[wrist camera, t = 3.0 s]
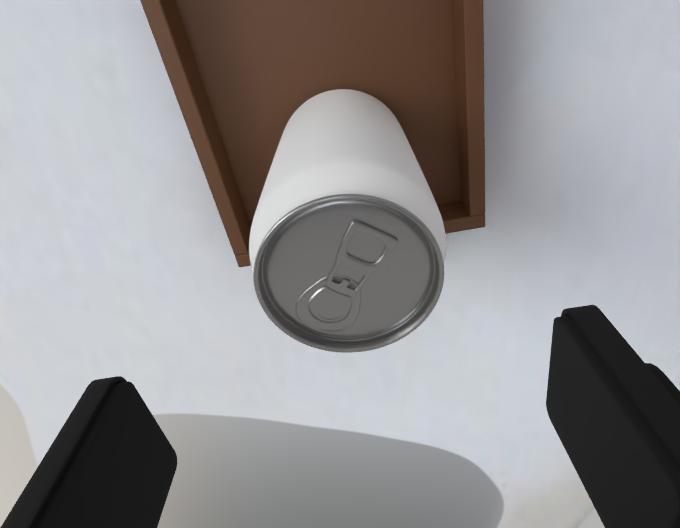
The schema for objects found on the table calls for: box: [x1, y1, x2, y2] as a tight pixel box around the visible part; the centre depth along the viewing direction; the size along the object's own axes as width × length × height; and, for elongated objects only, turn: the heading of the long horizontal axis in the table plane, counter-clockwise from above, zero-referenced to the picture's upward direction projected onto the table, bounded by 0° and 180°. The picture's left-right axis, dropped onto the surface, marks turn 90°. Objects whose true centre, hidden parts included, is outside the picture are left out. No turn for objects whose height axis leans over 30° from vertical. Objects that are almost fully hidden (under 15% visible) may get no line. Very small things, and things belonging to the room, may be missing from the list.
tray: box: [141, 0, 485, 267], centre depth 20 cm, size 18×14×2 cm
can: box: [249, 89, 446, 352], centre depth 18 cm, size 6×6×12 cm
